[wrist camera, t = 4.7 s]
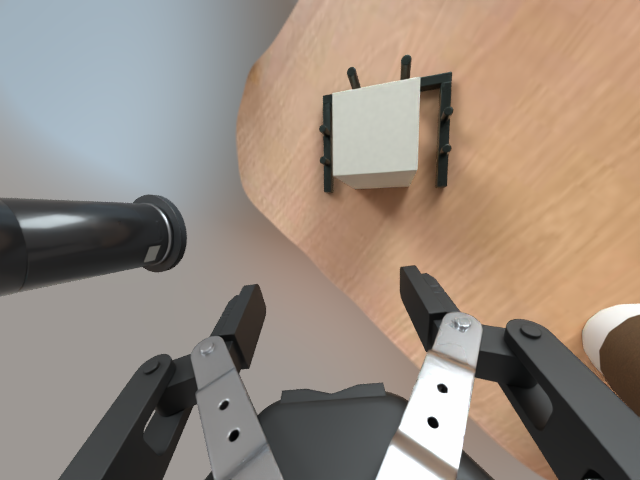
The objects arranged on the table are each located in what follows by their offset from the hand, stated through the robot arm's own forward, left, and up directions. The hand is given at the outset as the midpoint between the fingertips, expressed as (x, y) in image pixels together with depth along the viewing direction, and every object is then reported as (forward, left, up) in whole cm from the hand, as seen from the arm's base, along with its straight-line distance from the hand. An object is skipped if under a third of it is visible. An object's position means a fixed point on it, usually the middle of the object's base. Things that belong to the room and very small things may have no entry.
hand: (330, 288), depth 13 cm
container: (+2, +10, -13) cm, 16 cm away
